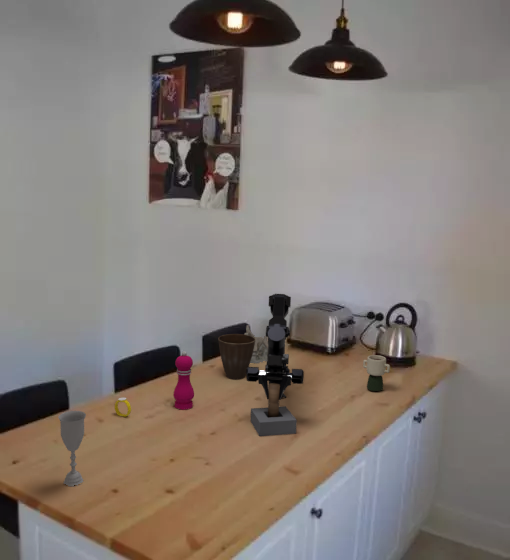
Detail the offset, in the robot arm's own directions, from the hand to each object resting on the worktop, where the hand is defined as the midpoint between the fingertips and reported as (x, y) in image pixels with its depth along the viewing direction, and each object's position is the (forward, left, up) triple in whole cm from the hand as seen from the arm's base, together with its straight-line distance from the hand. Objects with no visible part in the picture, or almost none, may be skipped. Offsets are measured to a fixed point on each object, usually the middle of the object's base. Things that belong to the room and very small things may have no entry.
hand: (273, 399), depth 195 cm
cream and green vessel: (-29, +49, -10) cm, 58 cm away
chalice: (+24, -61, -10) cm, 66 cm away
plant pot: (-53, -1, -10) cm, 54 cm away
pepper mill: (-24, -26, -10) cm, 37 cm away
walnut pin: (-1, 0, -7) cm, 7 cm away
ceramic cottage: (-77, +14, -10) cm, 78 cm away
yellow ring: (-19, -47, -10) cm, 51 cm away
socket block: (-1, 0, -10) cm, 10 cm away
